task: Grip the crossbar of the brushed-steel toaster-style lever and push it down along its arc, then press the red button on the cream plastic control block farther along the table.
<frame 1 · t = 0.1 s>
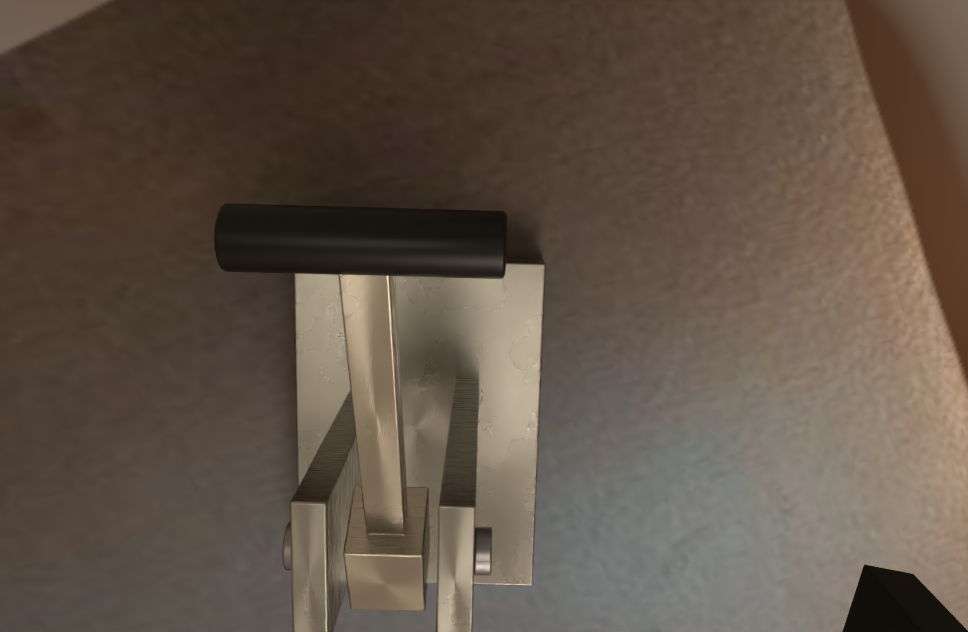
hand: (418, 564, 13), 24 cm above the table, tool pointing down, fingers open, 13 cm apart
toaster bracket: (420, 416, 37), on the table
lever: (379, 428, 22), point 14 cm above the table, hinge at 28.0°
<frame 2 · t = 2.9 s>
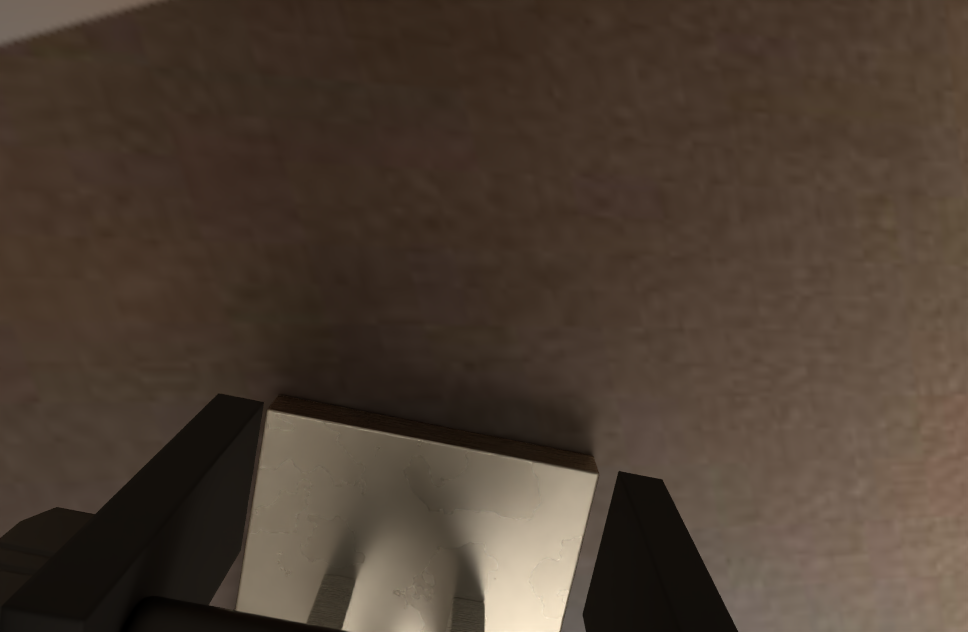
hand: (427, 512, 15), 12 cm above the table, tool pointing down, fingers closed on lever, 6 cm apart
toaster bracket: (397, 623, 28), on the table
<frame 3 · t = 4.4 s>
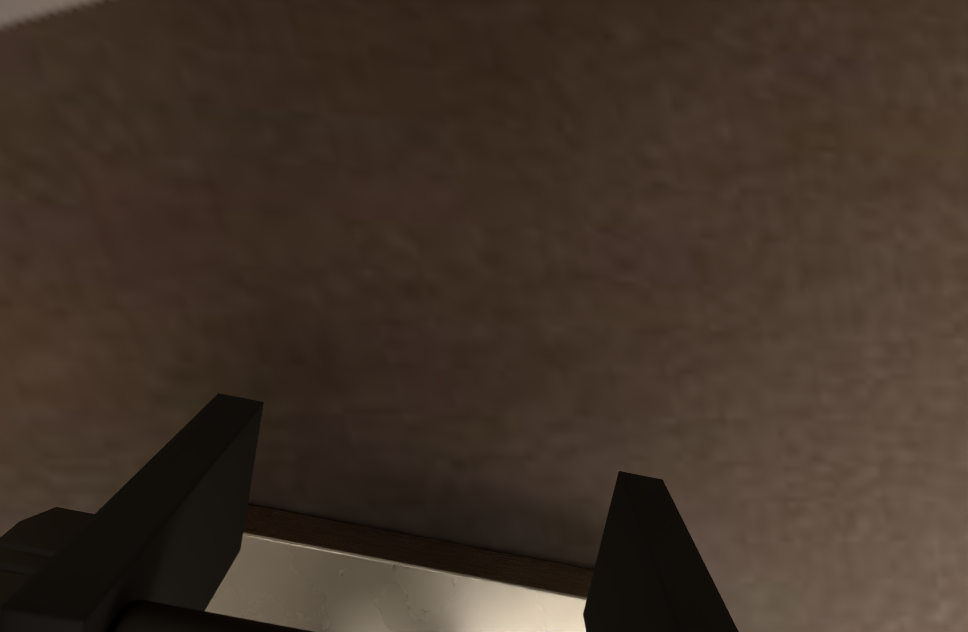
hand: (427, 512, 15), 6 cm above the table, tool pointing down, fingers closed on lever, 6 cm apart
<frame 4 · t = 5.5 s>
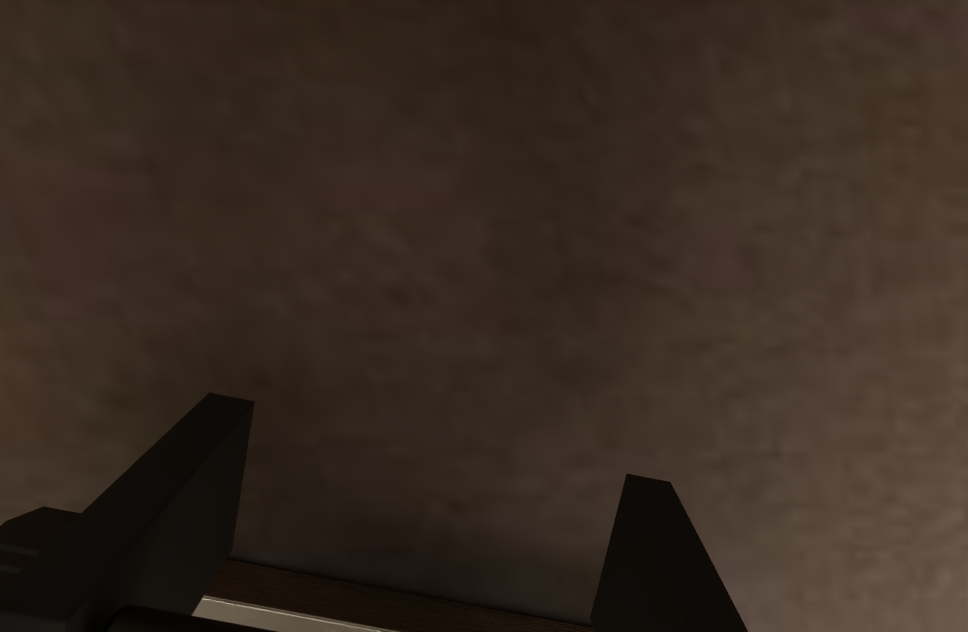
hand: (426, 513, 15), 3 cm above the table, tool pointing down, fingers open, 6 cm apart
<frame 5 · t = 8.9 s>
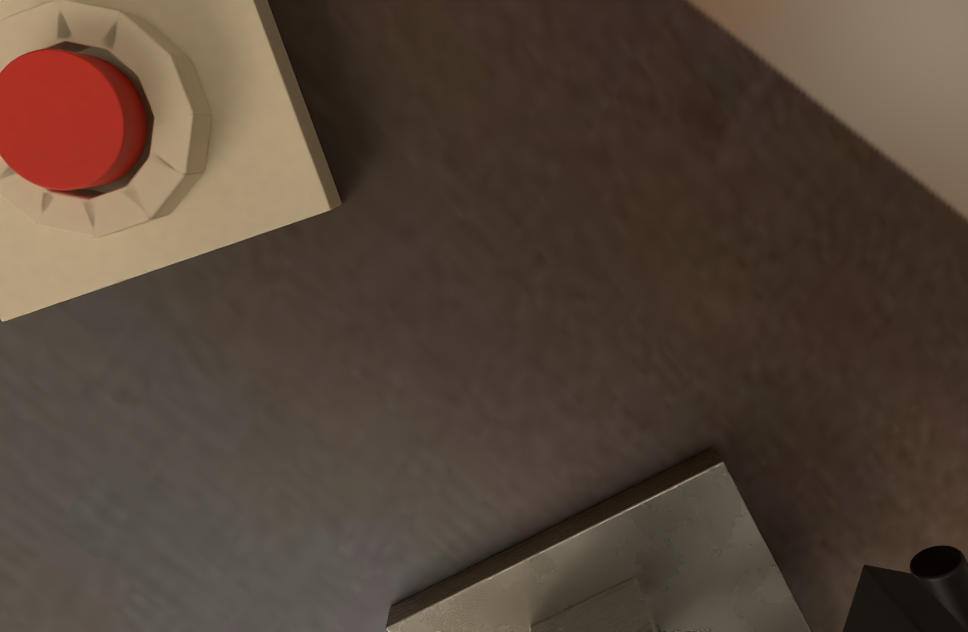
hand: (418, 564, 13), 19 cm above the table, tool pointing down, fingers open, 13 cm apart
toaster bracket: (606, 631, 34), on the table
control block: (131, 122, 30), on the table
button: (69, 121, 26), point 4 cm above the table, slide at 0.1 cm
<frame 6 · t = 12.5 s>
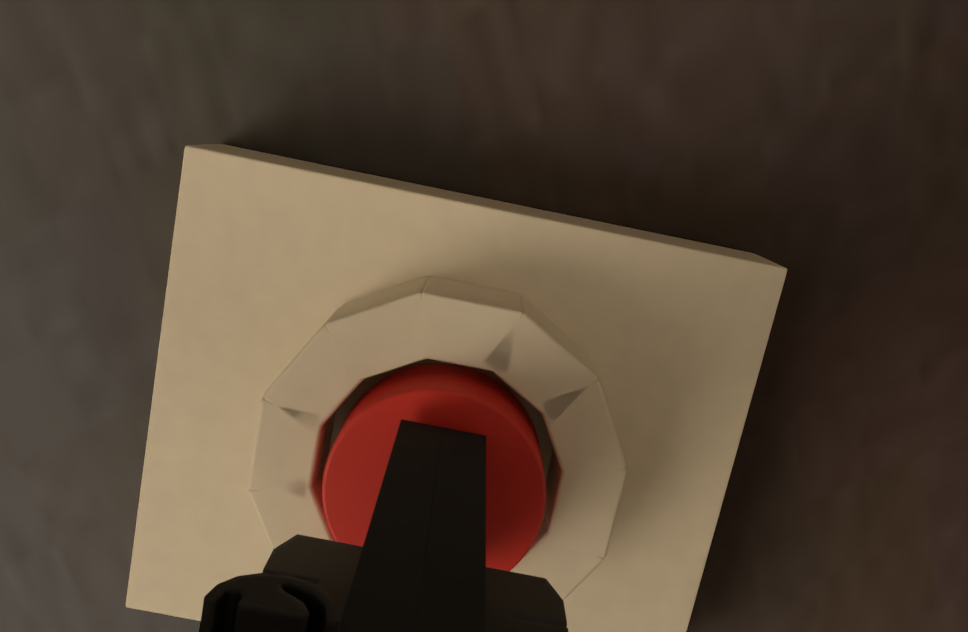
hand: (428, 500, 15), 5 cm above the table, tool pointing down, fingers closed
control block: (446, 412, 20), on the table
button: (436, 477, 16), point 4 cm above the table, slide at -0.5 cm, touching gripper
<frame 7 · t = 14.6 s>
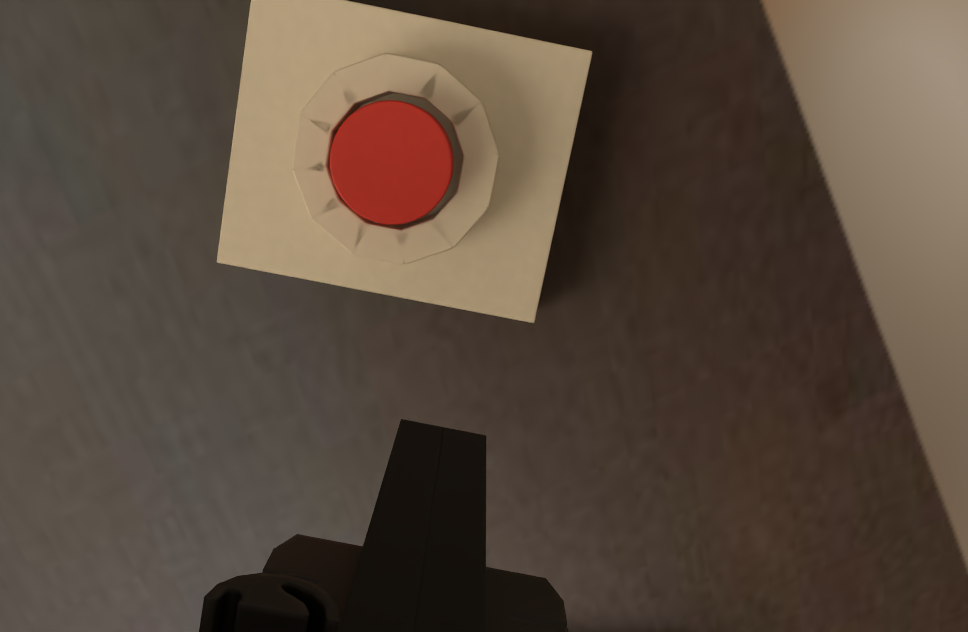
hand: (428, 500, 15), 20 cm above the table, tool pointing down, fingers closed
control block: (404, 157, 33), on the table
button: (393, 162, 29), point 4 cm above the table, slide at 0.1 cm
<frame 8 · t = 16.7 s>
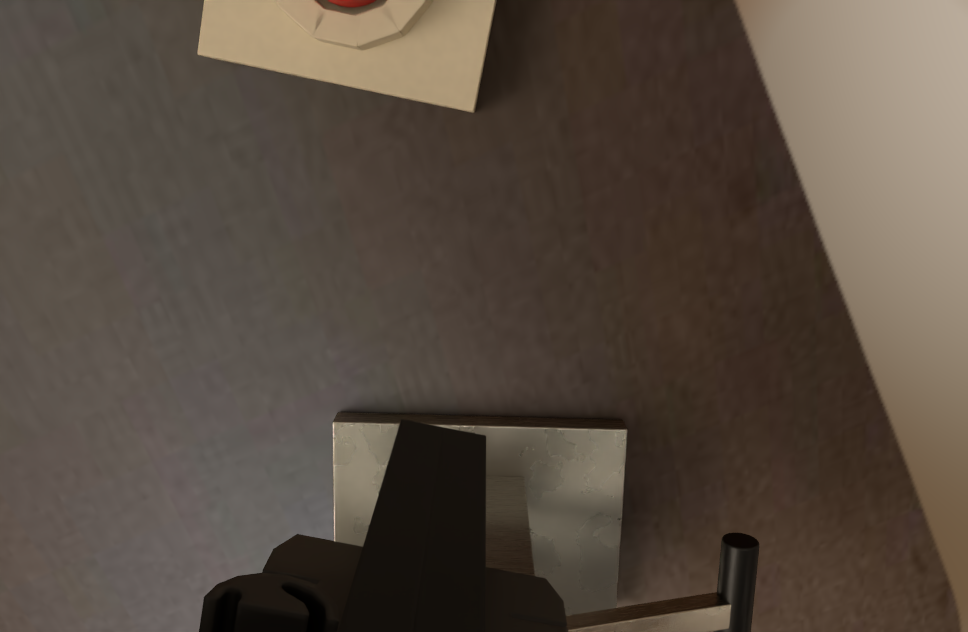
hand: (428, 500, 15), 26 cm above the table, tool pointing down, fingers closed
toaster bracket: (477, 510, 43), on the table
lever: (602, 629, 33), point 10 cm above the table, hinge at -17.9°
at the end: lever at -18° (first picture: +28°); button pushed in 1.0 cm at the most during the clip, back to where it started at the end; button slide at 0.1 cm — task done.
